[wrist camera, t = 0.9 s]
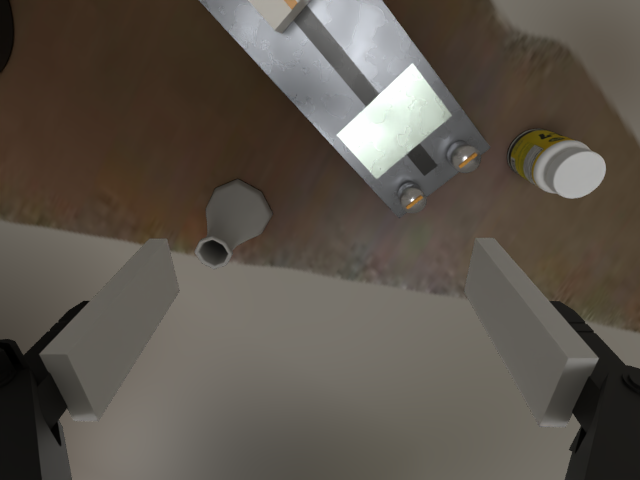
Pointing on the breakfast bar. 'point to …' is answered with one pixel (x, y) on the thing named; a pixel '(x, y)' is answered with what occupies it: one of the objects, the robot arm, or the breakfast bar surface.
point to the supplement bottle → (556, 163)
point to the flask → (232, 221)
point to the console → (364, 93)
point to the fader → (279, 11)
